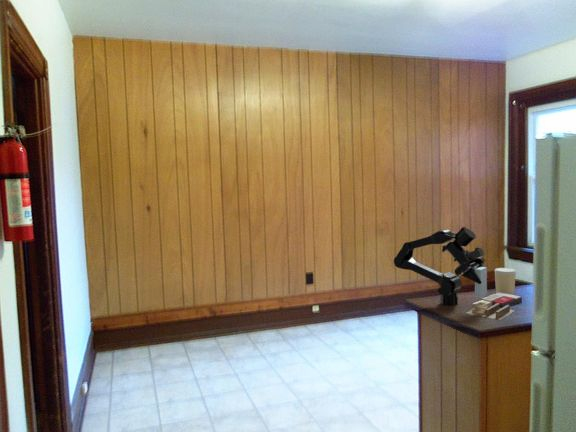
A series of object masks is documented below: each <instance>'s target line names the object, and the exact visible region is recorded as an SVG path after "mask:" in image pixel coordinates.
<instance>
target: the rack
mask: <svg viewBox="0 0 576 432" xmlns="http://www.w3.org/2000/svg"><path fill="white" fill-rule="evenodd" d="M515 311H516V310H514V309H511V307H510V305H506V306H505V307H503V308H500V304H499V303H497V304H495V305H493V306H491V307H489V308H488V309H486V310H485V314H481V313H476V312H472V309H471V310H469V311H467V312H466V315H473V316H478V317H482V318H487V319H493V320H497V321H501V320H502V319H504V318H506V317H507V316H509V315H511V314H512V313H513V312H515Z"/></svg>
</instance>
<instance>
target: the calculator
mask: <svg viewBox="0 0 576 432" xmlns="http://www.w3.org/2000/svg"><path fill="white" fill-rule="evenodd" d="M481 300H484V301H489V302H492V306H493V305H495V304H497V303H499V304H500V308H503V307H505V306H506V305H510V306H513V305H517V304H523V297H522V296H519V295H515V294H514V295H511V294H506V293H501V292H499V293H496V292H495V293H493V294H490V295H488V296H487V295H486V296H484V297H482V298H480V300H479V301H481Z"/></svg>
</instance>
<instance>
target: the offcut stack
mask: <svg viewBox="0 0 576 432" xmlns="http://www.w3.org/2000/svg"><path fill="white" fill-rule="evenodd" d="M480 300H481V299H480ZM480 300H478V301H476V302H473V303H472V307H473V308H472V309H471V310H472V312H476V313H481V314H485V310H486V309H488V308H489V307H491V306H492V302H489V301H484V300H481V301H480Z"/></svg>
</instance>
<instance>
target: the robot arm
mask: <svg viewBox="0 0 576 432" xmlns="http://www.w3.org/2000/svg"><path fill="white" fill-rule="evenodd" d="M476 238H477V236H476V234H475V233H474V231H473V230H471V229H468V227H466V226H462V227H461V228H460V229H459V230H458V231H457V232H452V231H451V230H450V229H442V230H438V231H436V232H435V233H432V234H430V235H429V236H427V237H423V238H418V239H415V240H412V241H411V240H410V241H407V242H404V243H403V244H402V247H401V249H399V251H398V252H397V254H396V256H395V257H394V259H393V264H394V266H395V267H396V268H398V269H401V270H407V271H412V272H414V273H416V274H419V275H420V276H423V277H425V278H427V279H429V280H431V281H433V282H436V283H437V284H438V285H439V286H440V287H438V288H437V292H438V294H439V297H440V298H439V299H440V300H439V301H440V305H442V306H445V307H446V306H447V307H451V306H455V305H456V306H457V305H459V304H458V303H459V302H458V301H459V299H458V298H459V296H458V295H457V292H459V290H460V289H461V287H462V285H463V282H462V279H461V278H460V277H459V276H461V277H464V278H466V279H468V280H471V281H473V282H474V283H475V282H476V283H478V284H481V283H482V282H481V280H480V279H479V277H478V276H477V275H476V273H475V269H477V268H479V267H484V265H485V262H486V259H485V258H484V257H483V256H485V253H484V252H485V249H483V248H482V247H480V246H477V247H475V248H474V250H473V251H469V250H468V249H467V250H466V249H464V247H467V246H469V245H470V244H471V243H472V242H473V241H475V239H476ZM446 243H447V244H446ZM442 244H444V245H442ZM428 245H429V246H430V245H442V246H441V247H442V250H441V252H442V253H444V252H448V254H450V255H451V257H452V258H453V261H454V262H457V263H458V266H457V267H456V268H455V269H454V273H452V272H450V271H448V272H445V273H441V272H440V271H437V270H436V269H432V268H430V267H428V266H425V265H424V264H421V263H419V262H417V261H416V260H415V259H414V257H413V255H414V250H415V249H417V248H422V247H425V246H428ZM487 281H489V278H488V277H487Z"/></svg>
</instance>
